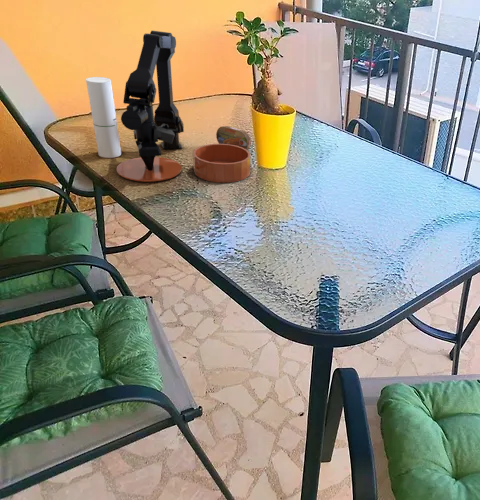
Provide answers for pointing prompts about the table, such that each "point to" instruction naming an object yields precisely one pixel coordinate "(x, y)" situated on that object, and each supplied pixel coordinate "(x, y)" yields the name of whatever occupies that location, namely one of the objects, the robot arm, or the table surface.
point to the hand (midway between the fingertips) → (149, 166)
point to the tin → (233, 137)
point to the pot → (221, 162)
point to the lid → (140, 172)
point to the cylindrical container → (104, 116)
